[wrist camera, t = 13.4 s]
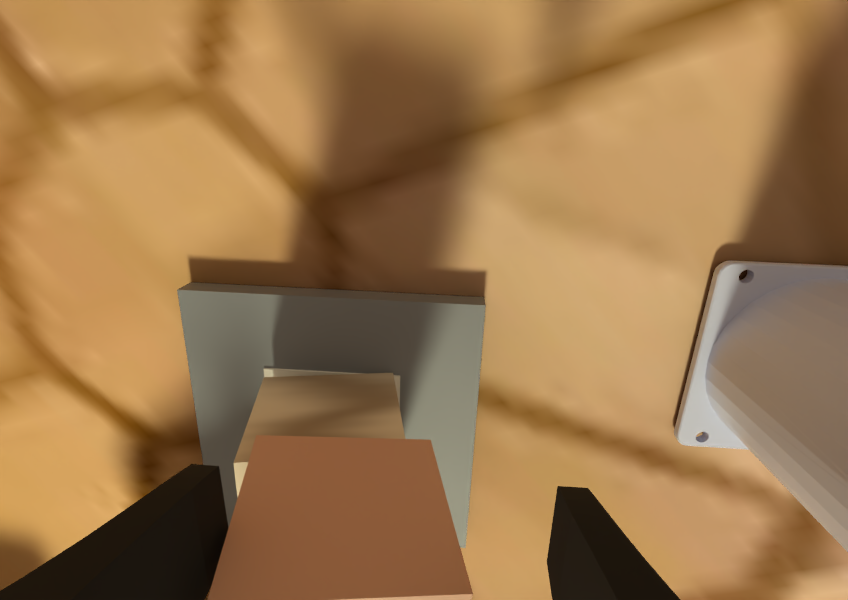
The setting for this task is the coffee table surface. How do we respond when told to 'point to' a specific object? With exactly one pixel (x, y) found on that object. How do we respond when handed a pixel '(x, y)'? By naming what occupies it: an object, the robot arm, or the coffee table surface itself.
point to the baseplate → (337, 364)
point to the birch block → (322, 410)
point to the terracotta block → (341, 524)
